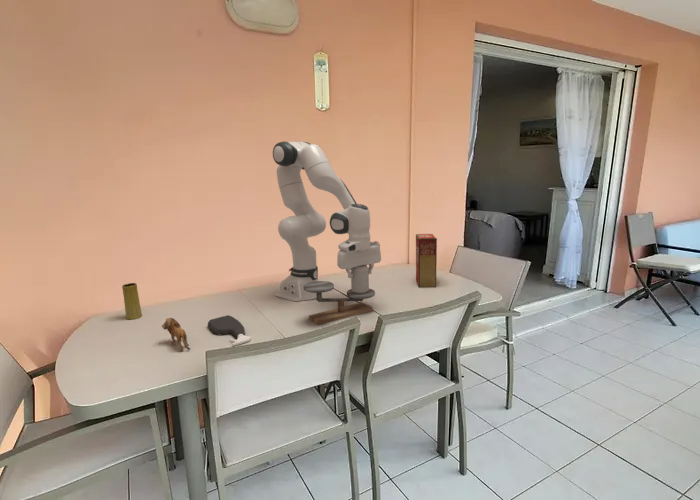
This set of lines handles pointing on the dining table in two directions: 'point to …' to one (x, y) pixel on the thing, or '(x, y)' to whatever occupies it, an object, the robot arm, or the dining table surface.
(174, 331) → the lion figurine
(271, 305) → the dining table surface
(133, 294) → the vase
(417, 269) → the food packaging
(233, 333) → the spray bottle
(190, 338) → the dining table surface
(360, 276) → the can
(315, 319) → the scale
